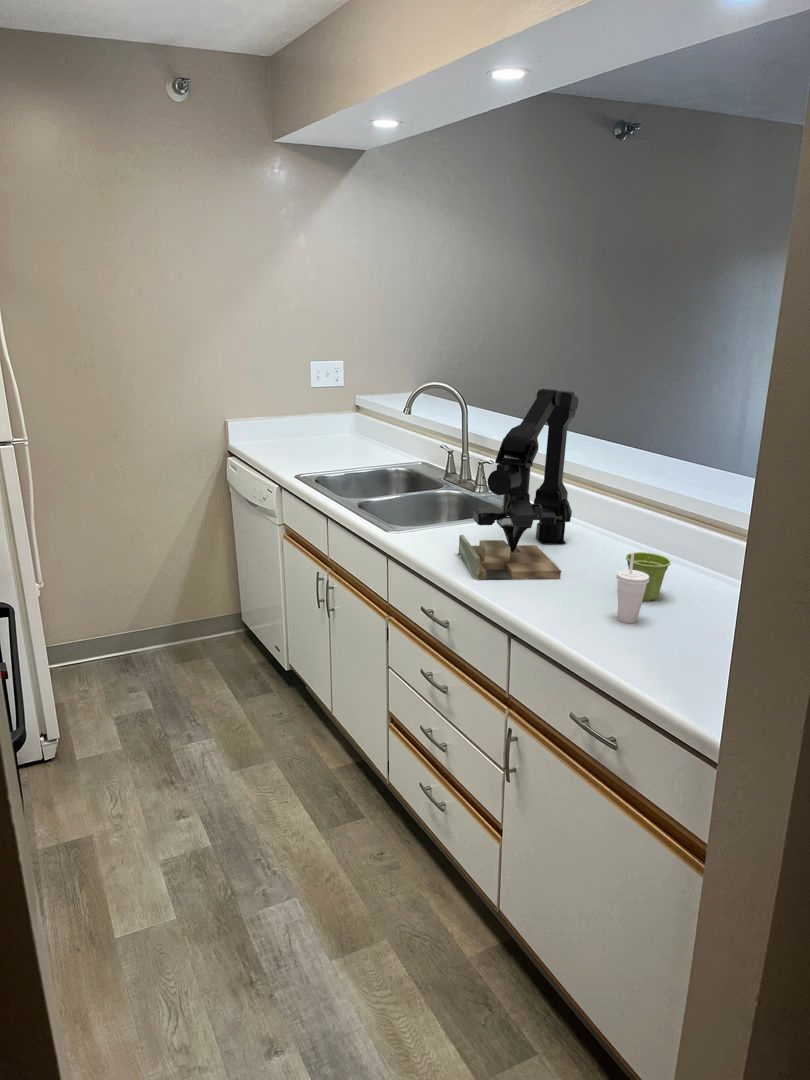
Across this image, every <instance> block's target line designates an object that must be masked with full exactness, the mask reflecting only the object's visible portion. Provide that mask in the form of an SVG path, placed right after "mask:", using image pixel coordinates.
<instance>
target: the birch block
mask: <svg viewBox="0 0 810 1080" xmlns="http://www.w3.org/2000/svg"><path fill="white" fill-rule="evenodd" d="M478 546H479V555H480V556H481V558H482V559H483V560H484V562H509V561H510V552H511V551H510V546H509V545H508V542H506V541H505V540H504V539H497V540H496V539H492V540H490V539H488V540H487V539H484V540H483V539H480V540H479V545H478Z"/></svg>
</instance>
